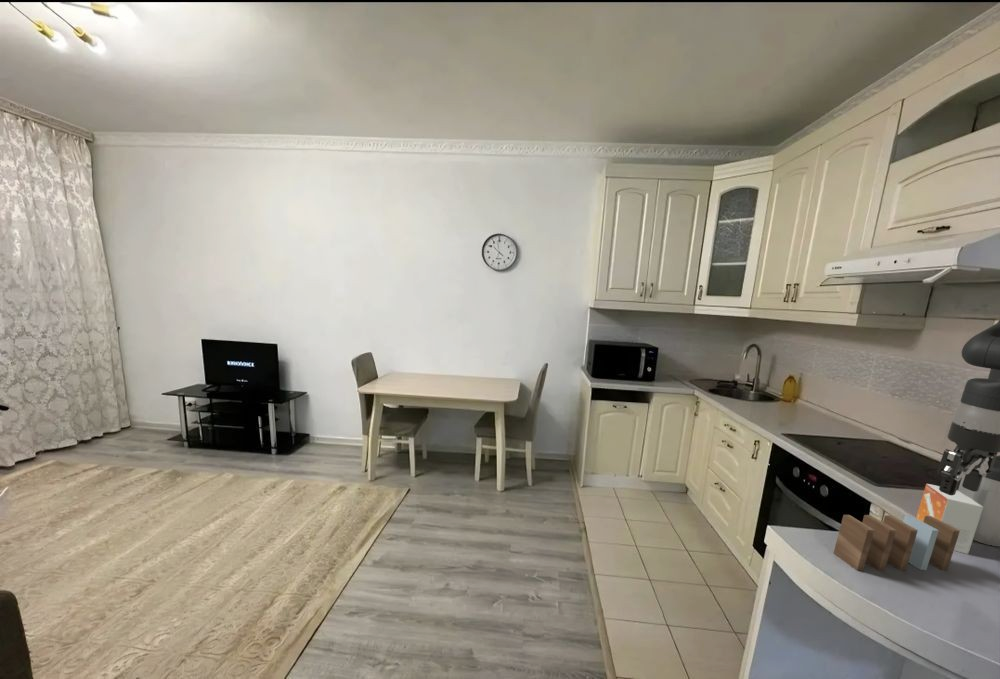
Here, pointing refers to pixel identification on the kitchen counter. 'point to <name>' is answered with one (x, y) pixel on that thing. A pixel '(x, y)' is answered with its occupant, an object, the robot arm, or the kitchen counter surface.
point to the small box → (952, 513)
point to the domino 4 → (921, 542)
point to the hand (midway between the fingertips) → (958, 491)
